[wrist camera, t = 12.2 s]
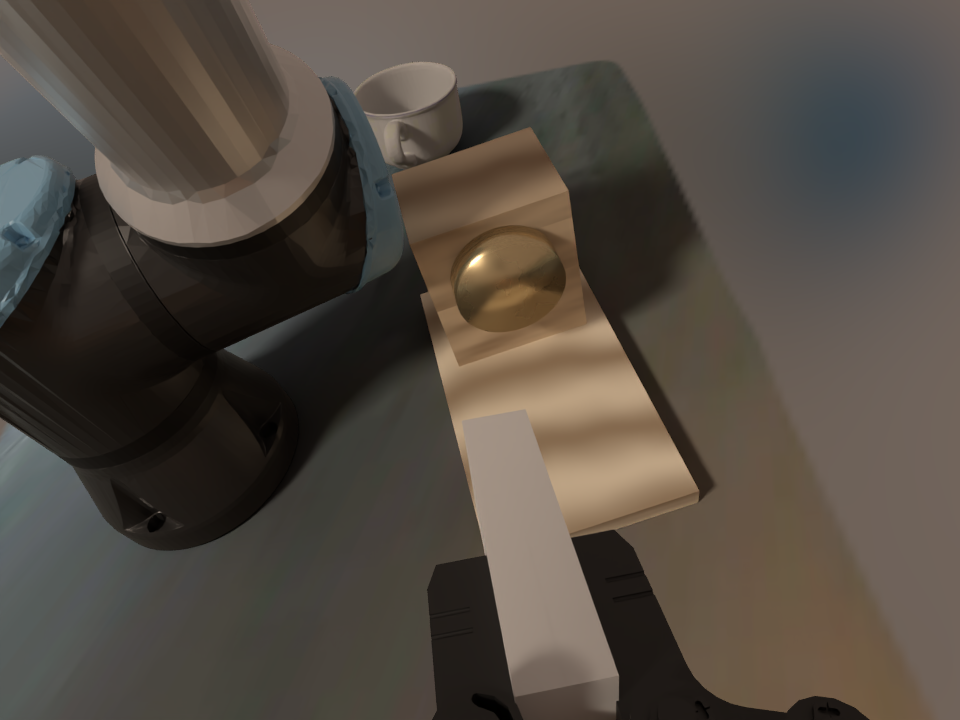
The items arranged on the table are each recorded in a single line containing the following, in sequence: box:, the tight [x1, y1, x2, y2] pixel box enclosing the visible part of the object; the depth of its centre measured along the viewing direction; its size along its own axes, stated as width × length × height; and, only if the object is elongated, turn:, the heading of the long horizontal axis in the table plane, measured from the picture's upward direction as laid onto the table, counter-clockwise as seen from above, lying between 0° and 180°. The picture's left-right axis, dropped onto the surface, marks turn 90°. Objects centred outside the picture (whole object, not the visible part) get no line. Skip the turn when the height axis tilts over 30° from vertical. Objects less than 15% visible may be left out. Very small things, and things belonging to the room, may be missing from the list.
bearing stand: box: [392, 127, 699, 538], centre depth 40 cm, size 24×13×14 cm, turn 14°
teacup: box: [354, 62, 463, 170], centre depth 65 cm, size 14×11×8 cm
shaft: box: [450, 225, 566, 332], centre depth 42 cm, size 12×7×7 cm, turn 14°
